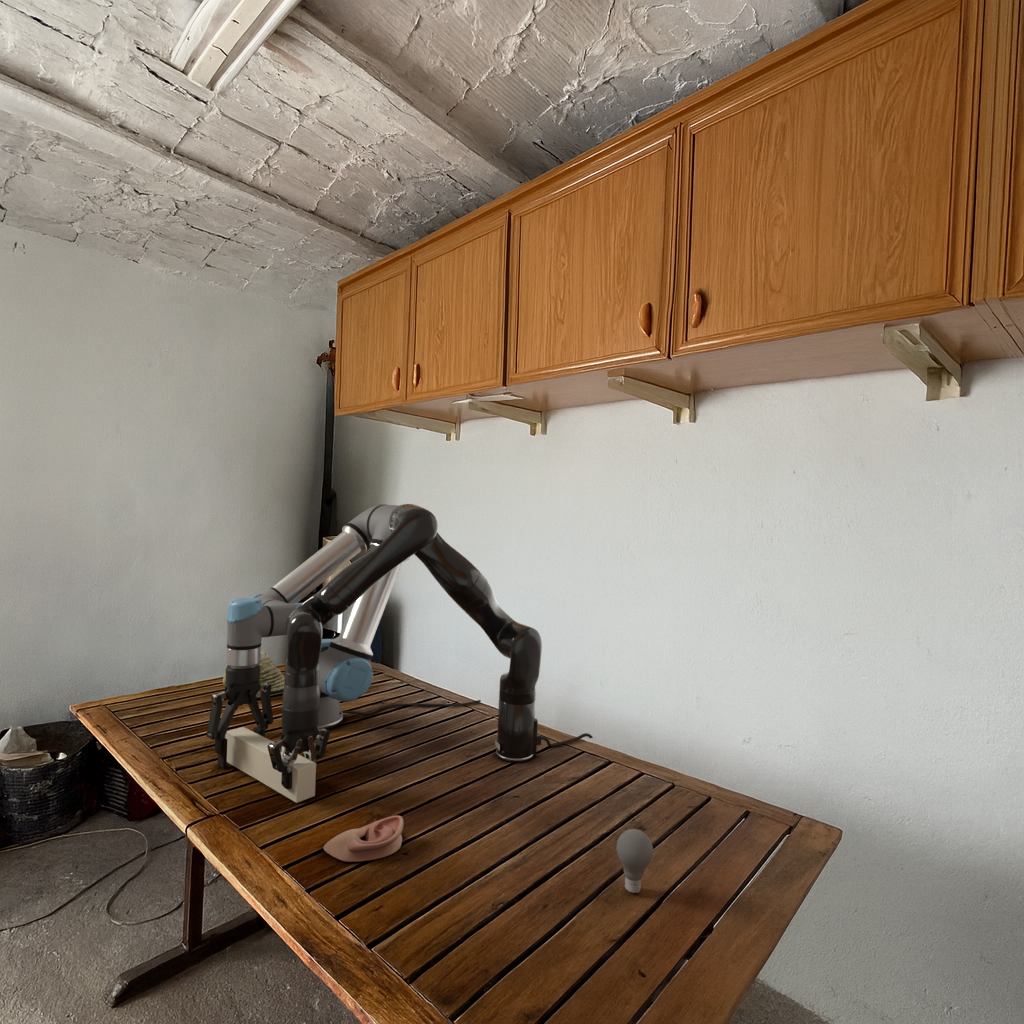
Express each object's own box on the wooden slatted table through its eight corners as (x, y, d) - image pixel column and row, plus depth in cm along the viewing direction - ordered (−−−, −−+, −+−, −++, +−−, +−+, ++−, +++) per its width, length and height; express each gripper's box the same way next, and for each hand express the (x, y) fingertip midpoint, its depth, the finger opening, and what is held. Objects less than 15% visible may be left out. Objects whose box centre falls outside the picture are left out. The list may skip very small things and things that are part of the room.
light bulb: (610, 879, 108) (613, 822, 108) (644, 879, 109) (647, 822, 109) (619, 902, 102) (622, 840, 102) (655, 901, 103) (658, 840, 103)
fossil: (218, 695, 195) (220, 647, 195) (278, 685, 208) (279, 640, 207) (228, 703, 189) (230, 653, 188) (289, 692, 201) (290, 645, 201)
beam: (224, 760, 149) (225, 731, 149) (242, 755, 153) (243, 726, 153) (296, 803, 131) (297, 769, 130) (315, 795, 134) (316, 763, 134)
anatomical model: (315, 834, 111) (345, 804, 122) (314, 856, 111) (344, 824, 123) (386, 846, 109) (410, 814, 120) (385, 869, 109) (409, 834, 120)
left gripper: (275, 654, 159) (271, 744, 160) (190, 669, 143) (187, 769, 143) (291, 660, 154) (288, 752, 155) (206, 676, 138) (203, 779, 139)
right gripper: (319, 693, 142) (316, 768, 142) (260, 707, 131) (257, 789, 131) (340, 700, 137) (337, 779, 137) (280, 716, 126) (276, 801, 126)
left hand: (239, 760), depth 149 cm, fingers open, 8 cm apart
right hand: (298, 783), depth 134 cm, fingers closed on beam, 4 cm apart
